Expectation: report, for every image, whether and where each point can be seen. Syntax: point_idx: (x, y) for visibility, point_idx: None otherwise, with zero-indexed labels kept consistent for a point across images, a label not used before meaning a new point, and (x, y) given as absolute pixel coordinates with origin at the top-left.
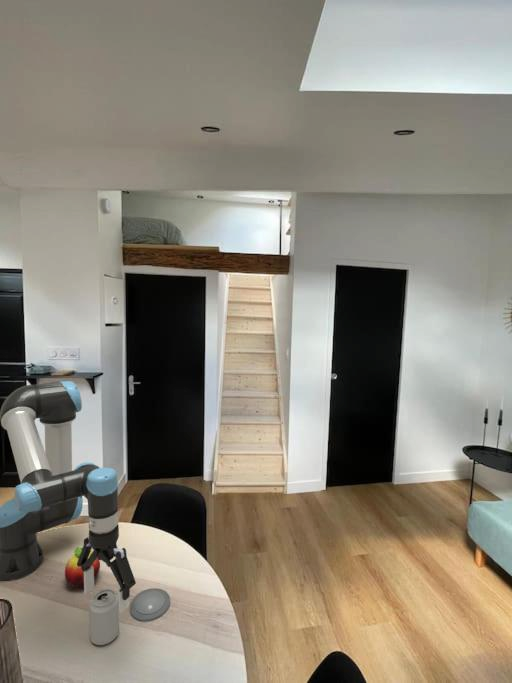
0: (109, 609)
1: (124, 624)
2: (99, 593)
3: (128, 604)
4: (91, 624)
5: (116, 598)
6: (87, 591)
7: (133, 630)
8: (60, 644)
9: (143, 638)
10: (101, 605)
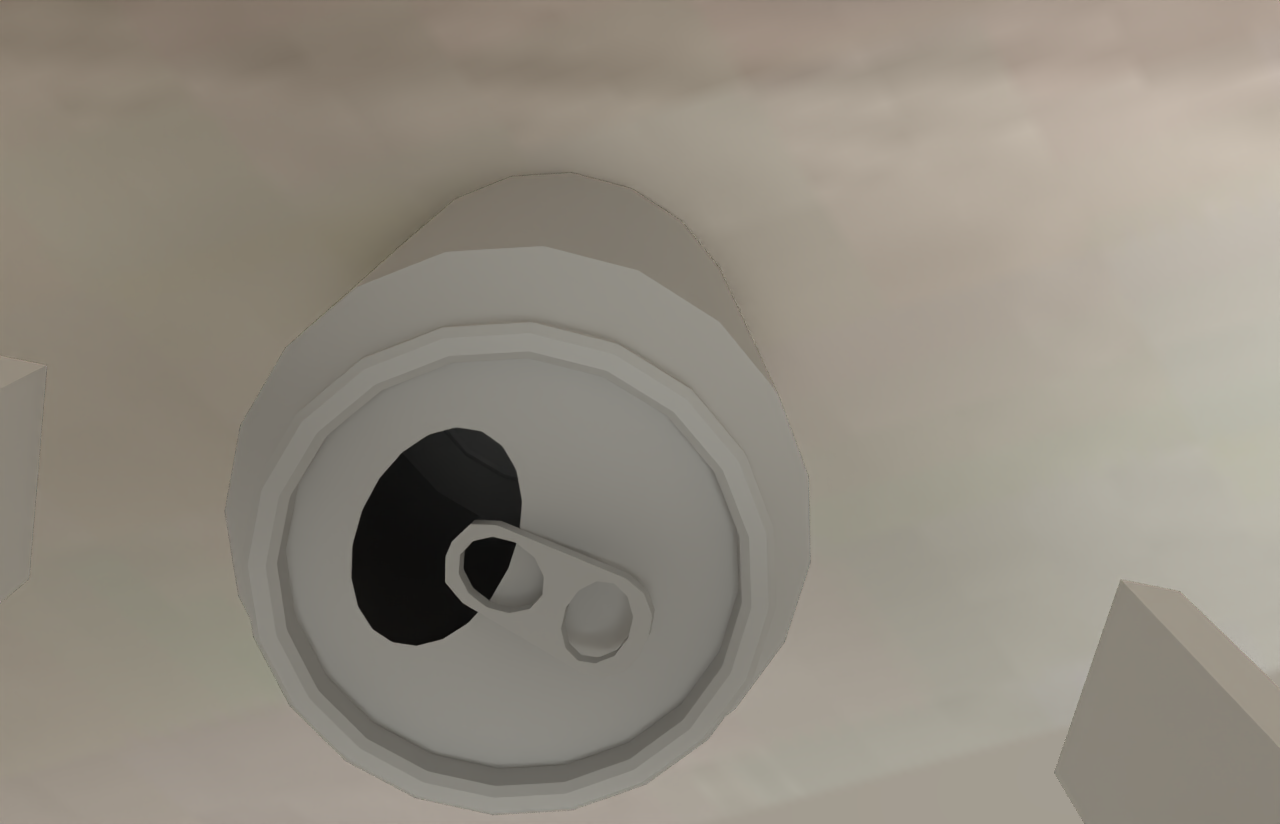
0: (759, 669)
1: (701, 113)
2: (301, 478)
3: (1191, 609)
4: (452, 631)
5: (754, 440)
6: (7, 565)
7: (883, 165)
8: (115, 606)
9: (1082, 237)
10: (621, 792)
